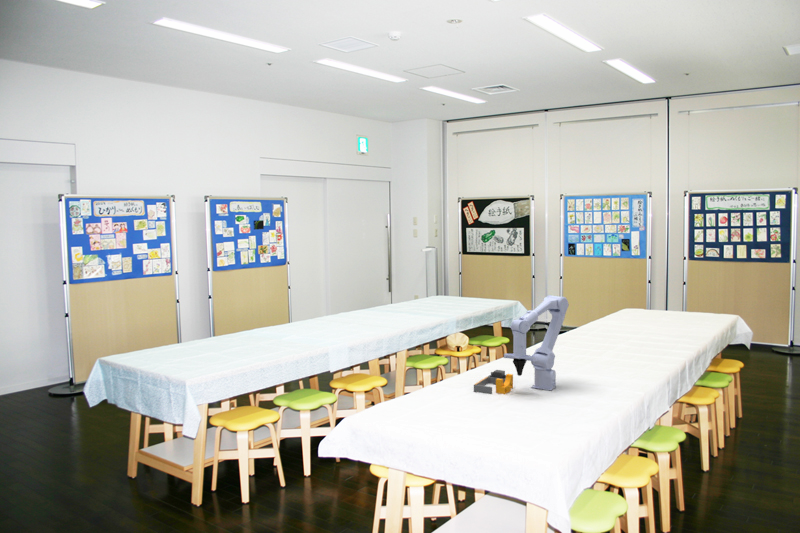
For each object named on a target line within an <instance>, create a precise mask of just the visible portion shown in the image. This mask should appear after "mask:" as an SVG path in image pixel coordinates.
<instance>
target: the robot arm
mask: <svg viewBox="0 0 800 533" xmlns="http://www.w3.org/2000/svg"><path fill="white" fill-rule="evenodd" d="M568 308H569V301H568V299H567V297H566V296H558V295H557V296H556V295H552V294H548V295H547V296H546V297H544V298H543V301H541V303H540V304H538V305H537V307H535V308H534V309H533V310H532V309H530V310H527V311H526V313H524V314H523V315H522V316H520V317H518V319H513V320H512V322H511V325H510V329H511V331H512V336H513V343H512V344H513V349H512V350H513V351H512V352H513V353H503V359H512V364H513V365H514V367H515V370H516V375H517V376H519V377H520V376H522V375H523V371H524V368H525V365H526V363H527V361H529V362H530V364H531V365H532V366H533V368H534V384H533V385H532V386H531V389H539V390H544V391H553V390H554V389H555V388H556V387H557V385H556V384H557V382H556V381H557V379H556V376H557V373H556V370H554V369H552V368H553V367H554V364H555V359H556V355H555V353H554V352H553V350H554V347H555V344H556V341H557V340H558V337H559V334H560V332H561V329H562V327H563V326H562V325H563V323H564V321H565V318H566V313H567V310H568ZM547 311H548V312H549V314H551V319H550V322H549V325H548V328H547V330H546V333H545V335H544V338H543V340H542V343H541V346H540V347H538V348H536V349H535V350H534V353H533V354H532V355H530V354H527V333H528V332H529V330H530V328H531V326H532V325H533V324H535V323H536V322H537V321H538V320H539V316H541V315H542V314H544V313H545V312H547Z"/></svg>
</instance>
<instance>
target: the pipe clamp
mask: <svg viewBox="0 0 800 533" xmlns="http://www.w3.org/2000/svg"><path fill="white" fill-rule="evenodd" d="M505 375H506V379H505V382H504V383H503V379H499V378H498V379H496V384H495V393H496V394H500V395H506V394H508V393H510V392H512V389H513V388H514V374H512V373H507V374H506V373H505Z"/></svg>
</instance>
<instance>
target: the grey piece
mask: <svg viewBox="0 0 800 533" xmlns="http://www.w3.org/2000/svg"><path fill="white" fill-rule="evenodd" d="M498 378H499V379H503V383H504V382H505V379H506V370H501V369H495V370H494V371H491V372H490V375H488V376H485V377H484V378H482V379H480V380H479V381H477V382H475V383H474V384H473V392H475V393H483V394H488V395H489V394H490V395H492V394H493V387H492V386H487V385H488V384H489V385H490V384H491V385H496V379H498Z"/></svg>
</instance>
